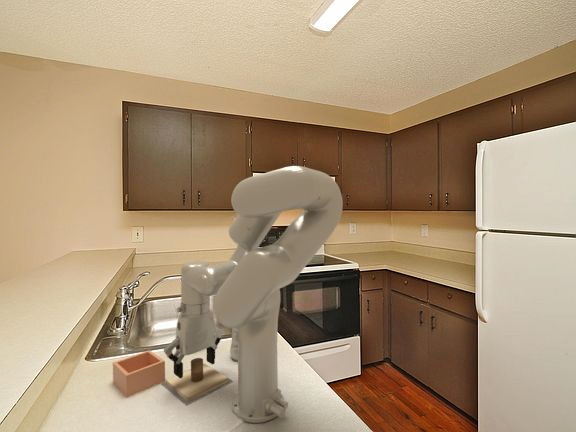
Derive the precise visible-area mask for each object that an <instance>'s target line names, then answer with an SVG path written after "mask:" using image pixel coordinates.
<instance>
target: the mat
mask: <svg viewBox="0 0 576 432" xmlns="http://www.w3.org/2000/svg"><path fill="white" fill-rule="evenodd" d="M233 382H234V380H232V379H231V378H229V377H228V382H226V383H224V384H222V385H221V386H219V387H217V388H215V389H213V390H211V391H209V392H207V393H205V394H203V395H201V396H199V397H197V398H195V399H193V400H191V401H189V402H188V401H187V400H185V399H184V398H183V397H182V396H181V395H179V394H178V393H177V392H176V391H174V390H173V389H172V388H171V387H170V386H168V385H167V384H166V381H164V382H162V383H160V385H161V386H163V387H164V389H166V390H167V391H168V392H170V393H171V394H172V395H173V396H174V397H176V399H178V400H179V401H180V402H181V403H183V404H184V405H185V406H190V405H191V404H193V403H195V402H197V401H198V400H201V399H202V398H205V397H206V396H208V395H210V394H212V393H215V392H217V391H218V390H220V389H222V388H224V387H225V386H227V385H229V384H232V383H233Z"/></svg>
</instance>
